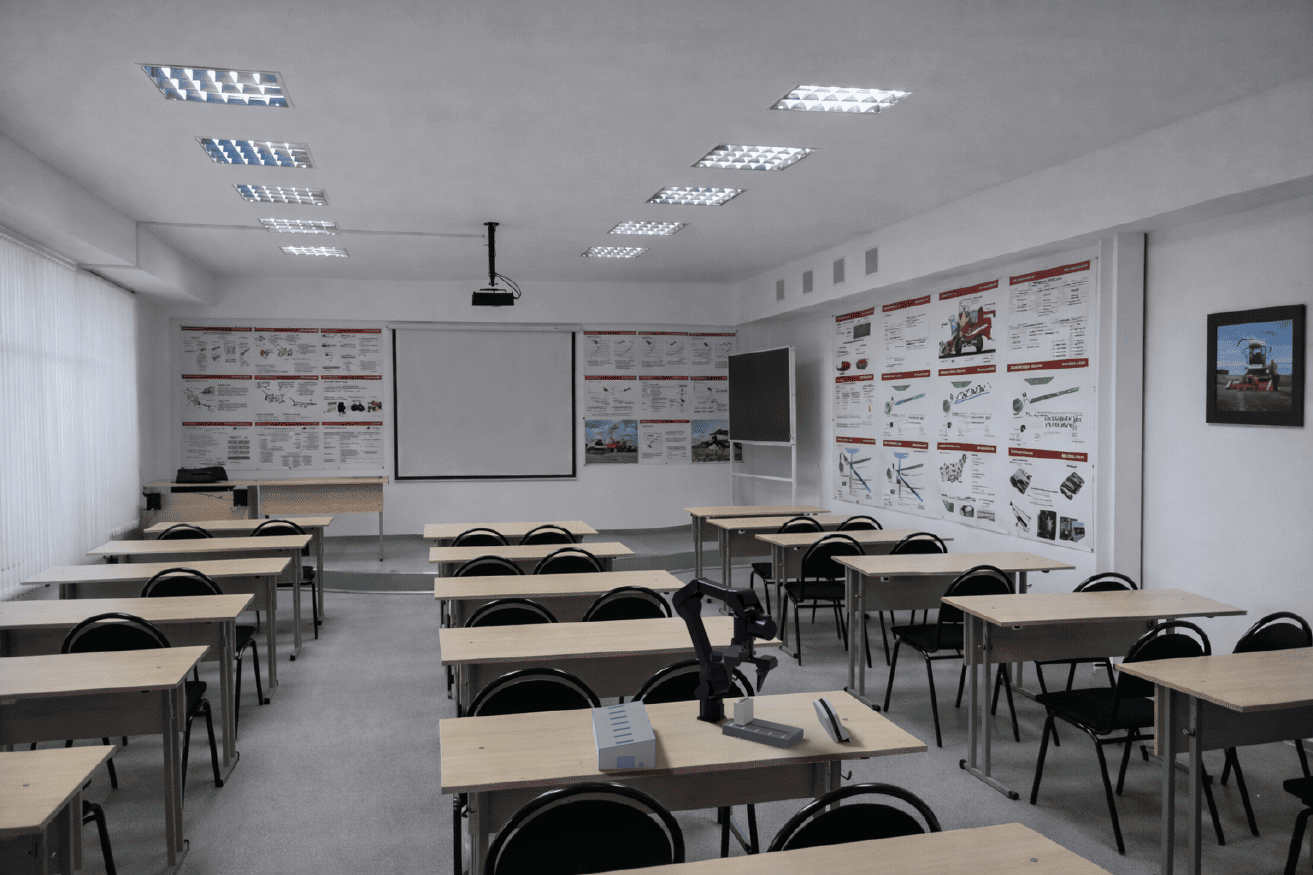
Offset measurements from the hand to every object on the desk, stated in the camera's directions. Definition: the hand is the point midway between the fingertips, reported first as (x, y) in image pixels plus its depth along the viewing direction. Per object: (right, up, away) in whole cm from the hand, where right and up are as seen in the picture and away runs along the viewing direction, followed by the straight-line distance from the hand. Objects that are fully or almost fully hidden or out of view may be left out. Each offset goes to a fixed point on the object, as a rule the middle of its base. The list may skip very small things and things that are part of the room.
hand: (743, 689), depth 235 cm
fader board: (+5, -12, -3) cm, 13 cm away
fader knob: (0, -9, 0) cm, 9 cm away
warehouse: (-34, -13, -11) cm, 38 cm away
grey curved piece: (+24, -12, 0) cm, 27 cm away
